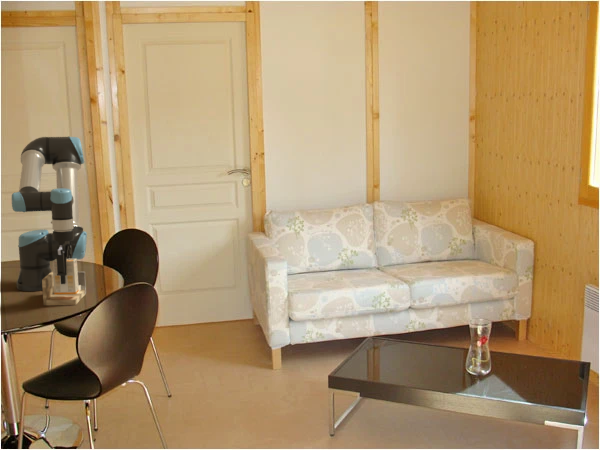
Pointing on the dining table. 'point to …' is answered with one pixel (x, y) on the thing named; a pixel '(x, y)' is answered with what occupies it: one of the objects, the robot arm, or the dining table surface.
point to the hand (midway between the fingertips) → (66, 289)
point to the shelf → (62, 299)
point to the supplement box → (71, 274)
